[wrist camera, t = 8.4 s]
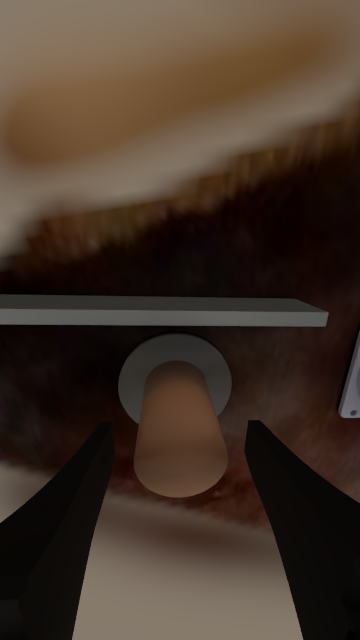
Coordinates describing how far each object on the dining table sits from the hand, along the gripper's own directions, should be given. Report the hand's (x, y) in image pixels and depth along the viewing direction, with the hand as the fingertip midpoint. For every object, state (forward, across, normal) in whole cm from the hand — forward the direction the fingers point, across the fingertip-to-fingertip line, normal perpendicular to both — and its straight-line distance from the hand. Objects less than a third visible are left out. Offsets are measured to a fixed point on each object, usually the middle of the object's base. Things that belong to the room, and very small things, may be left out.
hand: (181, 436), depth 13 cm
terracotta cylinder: (+4, 0, 0) cm, 5 cm away
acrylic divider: (+5, +2, -6) cm, 8 cm away
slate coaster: (+5, 0, 0) cm, 5 cm away
